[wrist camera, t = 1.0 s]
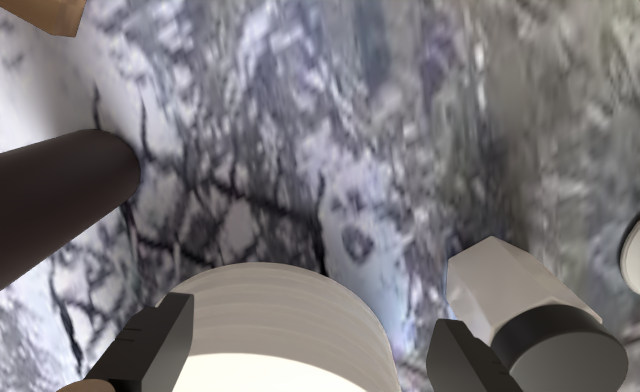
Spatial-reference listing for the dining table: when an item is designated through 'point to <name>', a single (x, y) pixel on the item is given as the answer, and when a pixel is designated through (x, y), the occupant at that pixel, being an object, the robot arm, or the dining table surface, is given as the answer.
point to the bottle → (59, 194)
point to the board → (48, 14)
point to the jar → (533, 321)
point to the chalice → (631, 259)
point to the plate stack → (282, 334)
